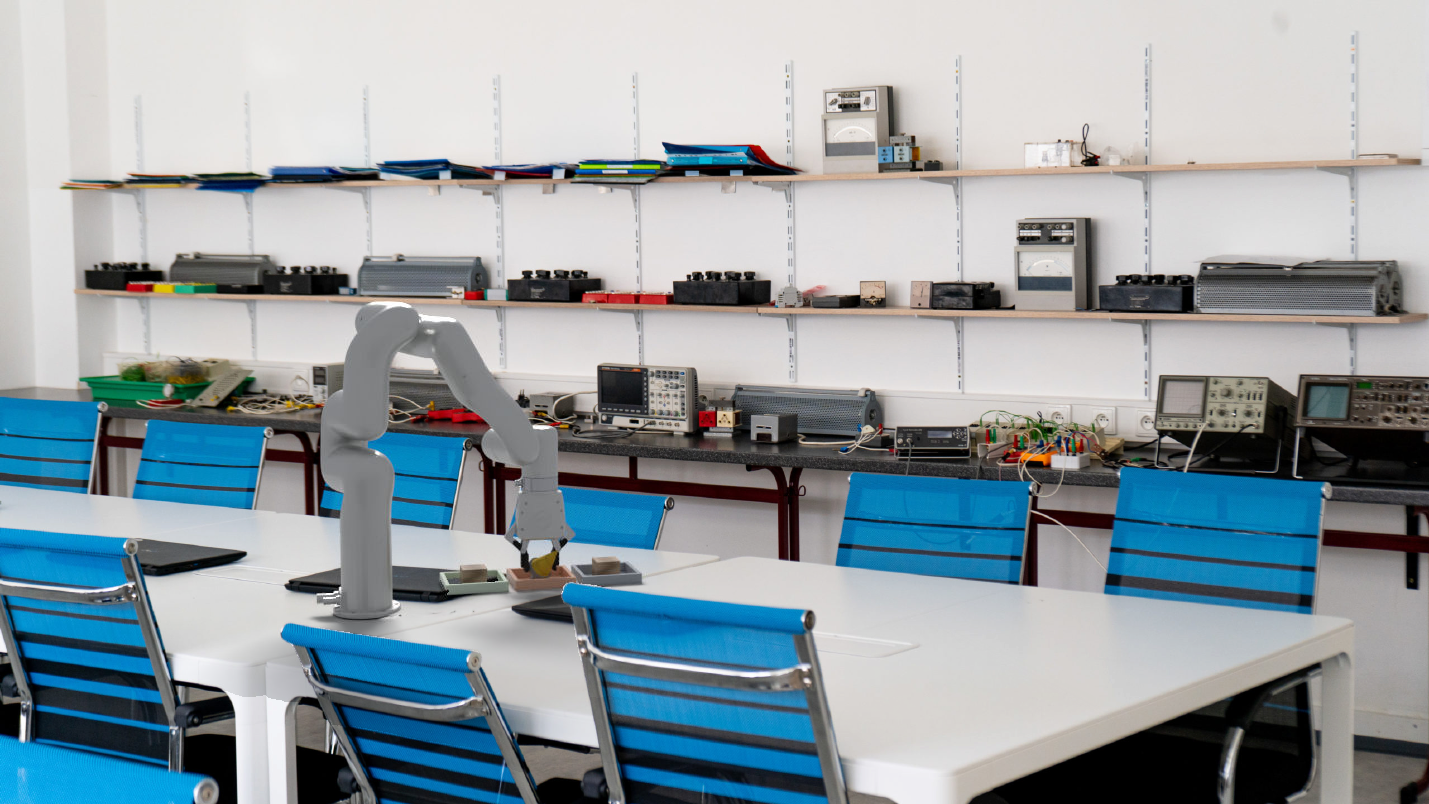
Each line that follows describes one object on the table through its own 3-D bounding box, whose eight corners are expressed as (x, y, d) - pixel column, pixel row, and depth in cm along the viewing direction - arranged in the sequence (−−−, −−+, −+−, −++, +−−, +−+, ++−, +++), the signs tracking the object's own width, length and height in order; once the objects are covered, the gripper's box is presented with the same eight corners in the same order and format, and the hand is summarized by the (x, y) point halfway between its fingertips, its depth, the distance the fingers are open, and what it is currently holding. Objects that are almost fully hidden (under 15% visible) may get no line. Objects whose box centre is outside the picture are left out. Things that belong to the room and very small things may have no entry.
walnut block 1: (462, 589, 270) (462, 570, 270) (460, 584, 275) (459, 565, 275) (487, 587, 272) (487, 568, 271) (484, 582, 277) (484, 563, 276)
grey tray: (582, 588, 274) (582, 577, 274) (571, 576, 286) (571, 564, 286) (641, 585, 278) (641, 573, 277) (627, 572, 290) (627, 561, 289)
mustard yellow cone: (543, 577, 282) (570, 549, 278) (538, 593, 277) (565, 564, 273) (523, 563, 281) (549, 535, 276) (517, 579, 276) (544, 550, 272)
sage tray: (446, 597, 266) (445, 585, 265) (439, 584, 278) (439, 572, 277) (508, 593, 269) (508, 581, 269) (499, 580, 281) (499, 569, 281)
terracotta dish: (515, 593, 270) (515, 581, 270) (506, 580, 282) (506, 568, 282) (576, 589, 273) (576, 577, 273) (564, 576, 285) (564, 565, 285)
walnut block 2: (597, 581, 279) (596, 562, 278) (592, 576, 283) (591, 557, 283) (620, 579, 280) (620, 561, 280) (614, 574, 285) (614, 556, 284)
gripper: (501, 488, 270) (501, 576, 271) (583, 485, 275) (583, 571, 276) (496, 483, 277) (496, 568, 278) (576, 480, 282) (576, 564, 283)
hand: (539, 569), depth 277 cm, fingers closed on mustard yellow cone, 5 cm apart
